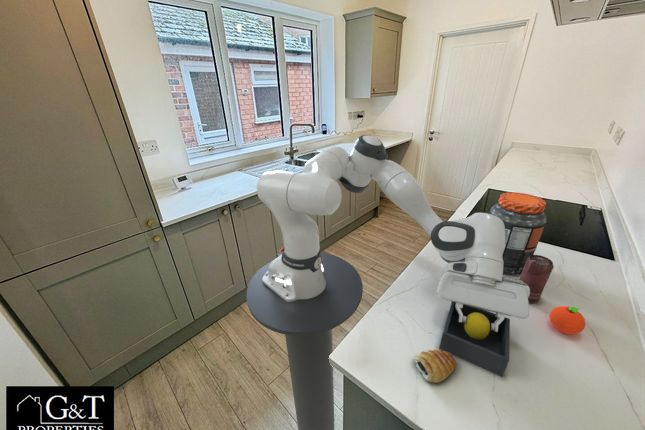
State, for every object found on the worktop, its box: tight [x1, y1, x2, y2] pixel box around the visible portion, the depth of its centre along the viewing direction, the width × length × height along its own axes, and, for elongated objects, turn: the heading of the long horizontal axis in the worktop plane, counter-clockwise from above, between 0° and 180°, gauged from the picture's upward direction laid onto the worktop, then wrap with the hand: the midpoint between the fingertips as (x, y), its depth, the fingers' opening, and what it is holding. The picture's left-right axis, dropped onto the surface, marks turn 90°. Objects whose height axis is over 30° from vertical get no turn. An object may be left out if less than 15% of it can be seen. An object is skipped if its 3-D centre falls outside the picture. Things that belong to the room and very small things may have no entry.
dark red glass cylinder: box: [518, 254, 554, 304], centre depth 78 cm, size 6×6×14 cm
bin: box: [438, 302, 511, 377], centre depth 67 cm, size 14×14×6 cm
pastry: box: [413, 349, 457, 384], centre depth 61 cm, size 9×7×4 cm
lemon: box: [464, 312, 490, 340], centre depth 66 cm, size 6×6×8 cm
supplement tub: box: [488, 191, 548, 275], centre depth 91 cm, size 16×16×26 cm
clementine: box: [549, 305, 586, 335], centre depth 69 cm, size 8×7×7 cm
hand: (477, 327), depth 65 cm, fingers closed on lemon, 5 cm apart
